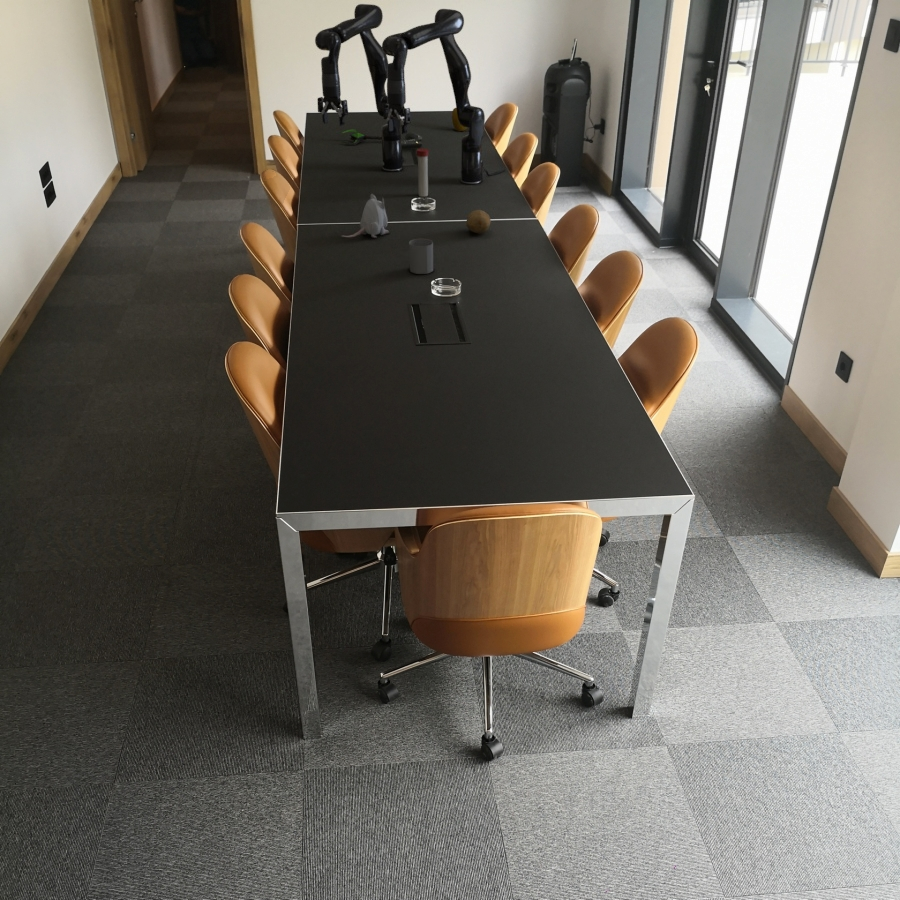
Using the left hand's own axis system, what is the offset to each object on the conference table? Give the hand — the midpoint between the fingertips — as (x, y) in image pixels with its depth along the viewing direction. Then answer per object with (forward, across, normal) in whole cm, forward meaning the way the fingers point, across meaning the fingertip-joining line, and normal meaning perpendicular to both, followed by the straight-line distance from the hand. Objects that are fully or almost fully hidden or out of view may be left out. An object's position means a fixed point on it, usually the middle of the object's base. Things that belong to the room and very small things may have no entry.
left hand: (333, 124), depth 373 cm
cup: (+29, -82, +63) cm, 107 cm away
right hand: (0, -31, -2) cm, 31 cm away
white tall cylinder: (+29, -35, -16) cm, 48 cm away
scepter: (+29, +40, -84) cm, 98 cm away
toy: (+29, -45, +45) cm, 70 cm away
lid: (+10, -35, -16) cm, 40 cm away
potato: (+29, -80, +17) cm, 87 cm away
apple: (+29, +11, -134) cm, 137 cm away
